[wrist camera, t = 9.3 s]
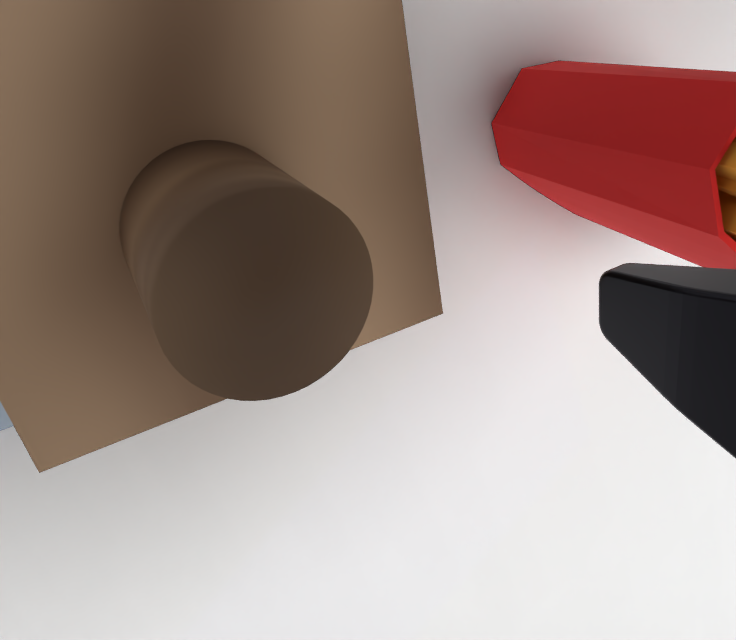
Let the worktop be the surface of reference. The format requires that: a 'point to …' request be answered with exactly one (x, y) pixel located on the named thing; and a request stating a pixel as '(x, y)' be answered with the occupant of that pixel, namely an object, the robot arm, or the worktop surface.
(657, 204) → the french fries
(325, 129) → the brown knobbed box
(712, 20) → the worktop surface
